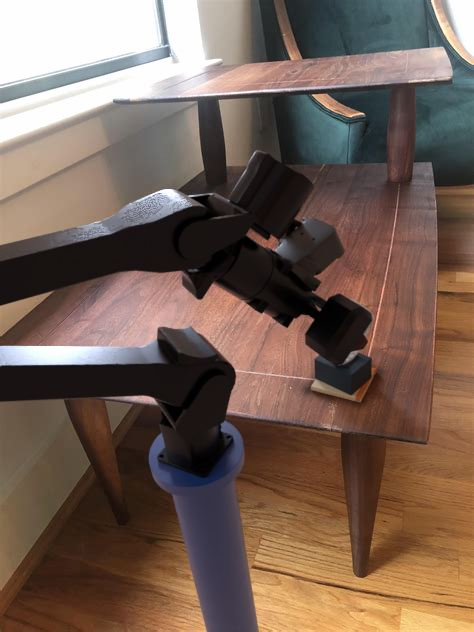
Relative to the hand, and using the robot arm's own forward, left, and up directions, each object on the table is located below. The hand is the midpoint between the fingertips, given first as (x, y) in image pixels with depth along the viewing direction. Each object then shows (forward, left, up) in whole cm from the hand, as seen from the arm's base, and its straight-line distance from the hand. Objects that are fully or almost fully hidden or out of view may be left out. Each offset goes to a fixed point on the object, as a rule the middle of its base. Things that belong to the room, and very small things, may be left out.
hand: (338, 327), depth 65 cm
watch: (0, 0, -8) cm, 8 cm away
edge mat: (+1, 0, -8) cm, 9 cm away
